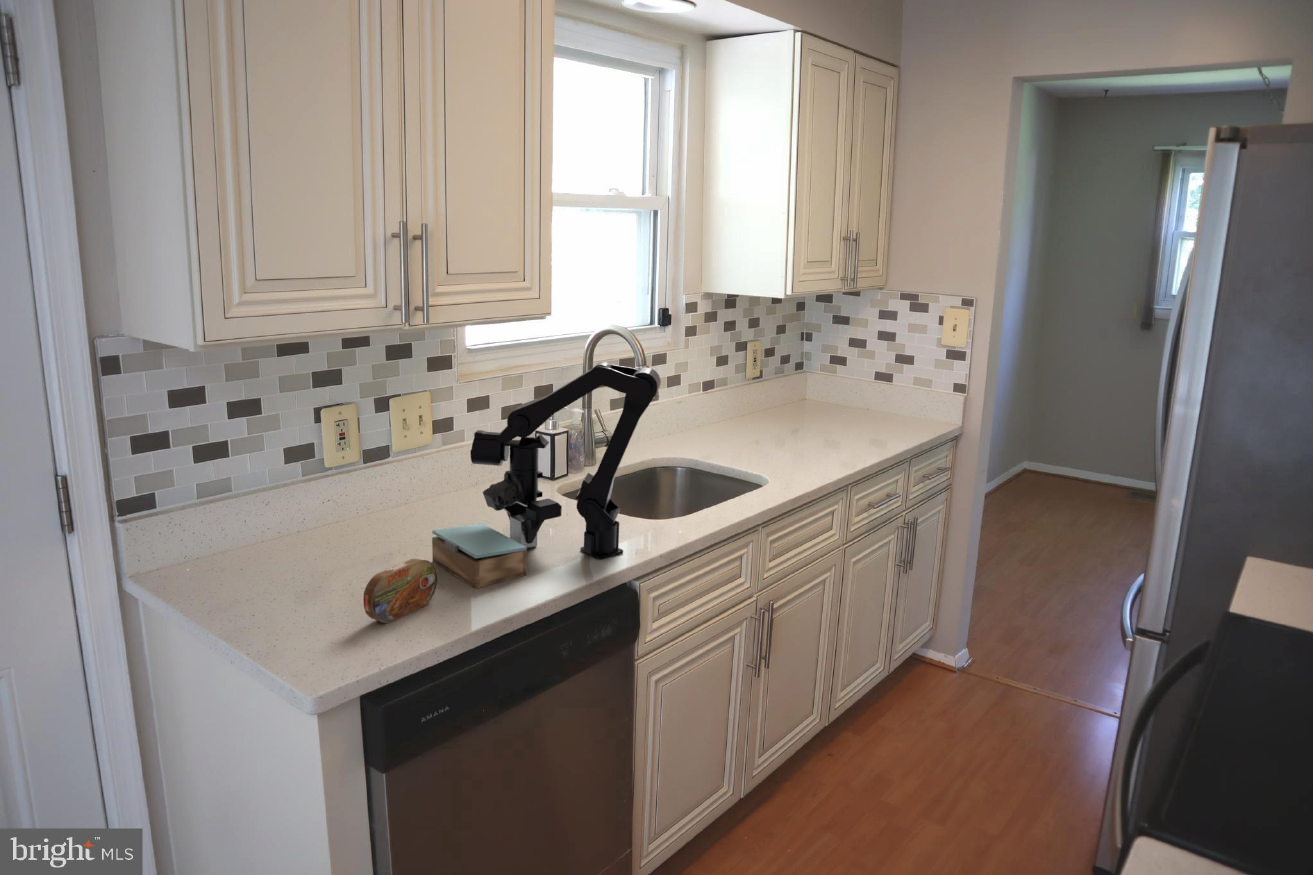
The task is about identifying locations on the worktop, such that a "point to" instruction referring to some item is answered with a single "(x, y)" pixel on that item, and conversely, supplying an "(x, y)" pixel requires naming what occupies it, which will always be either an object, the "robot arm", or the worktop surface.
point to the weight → (520, 531)
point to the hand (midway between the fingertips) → (523, 540)
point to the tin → (400, 590)
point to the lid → (477, 541)
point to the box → (479, 565)
